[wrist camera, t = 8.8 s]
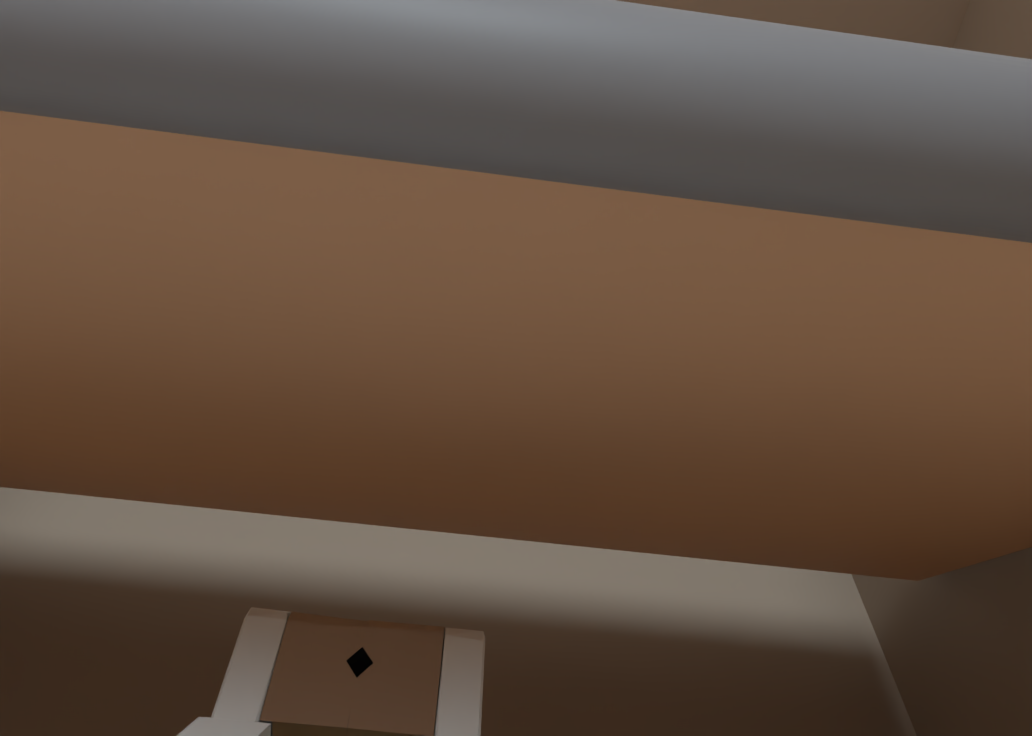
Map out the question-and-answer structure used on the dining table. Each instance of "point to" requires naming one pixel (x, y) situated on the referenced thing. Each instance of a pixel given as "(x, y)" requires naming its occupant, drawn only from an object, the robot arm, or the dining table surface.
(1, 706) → the open carton
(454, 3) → the flap
